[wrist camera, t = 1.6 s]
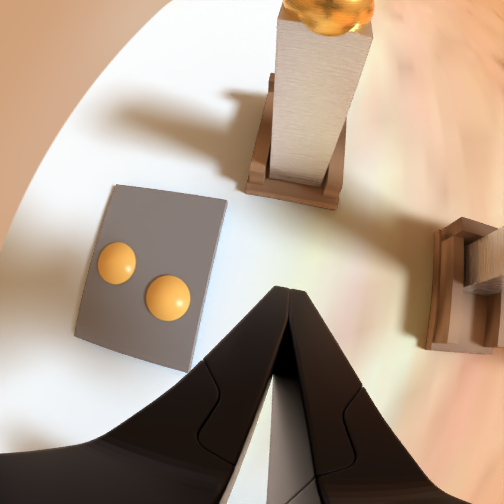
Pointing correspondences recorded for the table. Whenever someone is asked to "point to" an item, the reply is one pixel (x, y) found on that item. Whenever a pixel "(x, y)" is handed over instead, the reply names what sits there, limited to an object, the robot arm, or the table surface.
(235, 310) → the table surface
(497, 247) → the lever
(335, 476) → the robot arm
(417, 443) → the table surface
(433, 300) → the track
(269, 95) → the track
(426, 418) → the table surface
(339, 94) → the lever
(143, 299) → the pattern card
